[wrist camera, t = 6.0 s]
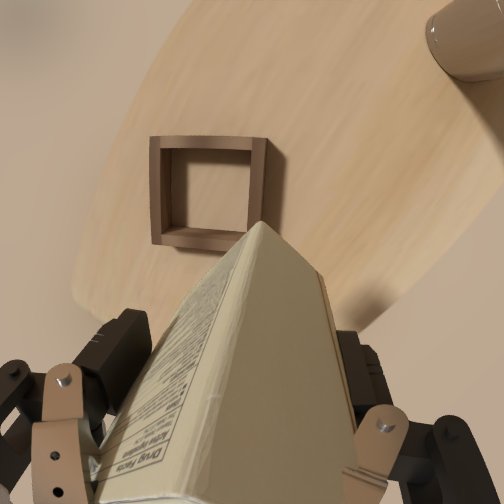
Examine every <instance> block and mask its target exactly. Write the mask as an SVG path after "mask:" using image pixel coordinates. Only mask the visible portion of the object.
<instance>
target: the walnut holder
mask: <svg viewBox="0 0 504 504" xmlns="http://www.w3.org/2000/svg"><path fill="white" fill-rule="evenodd" d="M267 139H268V138H255V137H235V136H152V137H150V145H149V185H150V218H151V237H152V244H154V245H164V246H175V247H185V248H195V249H205V250H216V251H226V252H228V251H229V250H230V249H231V248H232V247H233V246H234V245H235V244H236V243H237V242H238V241H239V240H240V239H241V238H242V237H243V236H244V235H245V234H246V233H247V232H248V231H249V230H250V229H251V228H252V227H253V226H254V225H255V224H256V223H257V222H259V221H262V213H263V199H264V184H265V170H266V155H267ZM171 148H215V149H240V150H252V152H251V169H250V187H249V204H248V222H247V232H236V231H224V230H212V229H200V228H188V227H175V226H171Z"/></svg>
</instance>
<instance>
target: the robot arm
mask: <svg viewBox="0 0 504 504" xmlns="http://www.w3.org/2000/svg"><path fill="white" fill-rule="evenodd" d="M426 39H427V43H428V46H429V49H430V50H431V52H432V54H433V56H434V58H435V59H436V61H437V62H438V63H439V64H440V66H441V67H442V68H443V69H444V70H445V71H446V72H448V73H449V74H450V75H451V76H453V77H455V78H456V79H458V80H461V81H463V82H477V81H482V80H486V81H490V80H496V79H502V78H504V0H454V1H452V2H451V3H450V4H448V5H447V6H445V7H444V8H443V9H441V10H440V11H438V12H437V13H436V14H434V15H433V16H432V17H430V19H429V20H428V22H427V25H426ZM336 333H337V338H338V342H339V346H340V351H341V355H342V360H343V364H344V369H345V374H346V378H347V383H348V388H349V393H350V398H351V403H352V407H353V409H354V414H355V420H356V426H357V431H356V433H355V435H354V442H355V447H356V453H357V459H358V465H359V467H358V470H355V469H352V468H350V467H344V468H343V470H342V484H343V493H344V503H345V504H379V503H380V501H381V499H382V497H383V495H384V493H385V491H386V489H387V486H388V482H387V480H393V481H398V482H399V486H400V490H401V495H402V499H403V504H501V503H500V500H499V498H498V495H497V492H496V489H495V487H494V484H493V482H492V479H491V476H490V474H489V471H488V469H487V467H486V464H485V462H484V459H483V457H482V455H481V452H480V450H479V448H478V446H477V444H476V441H475V439H474V437H473V435H472V433H471V430H470V428H469V426H468V425H467V423H466V422H465V421H464V420H463V419H461V418H459V417H457V416H454V415H445V416H442V417H440V418H439V419H437V421H436V422H435V423H434V425H430V424H423V423H416V422H412V421H409V420H408V418H407V416H406V414H405V413H404V412H403V411H402V410H401V409H399V408H397V407H395V406H394V405H393V402H392V398H391V395H390V392H389V389H388V386H387V383H386V379H385V376H384V375H383V370H382V367H381V366H380V361H379V359H378V356H377V353H376V352H375V351H374V350H373V349H372V348H371V347H370V346H369V345H360V342H359V338H358V335H357V332H356V331H340V330H336ZM151 352H152V340H151V335H150V329H149V323H148V317H147V314H146V312H145V311H141V310H135V309H129V308H127V309H125V310H124V311H123V312H122V314H121V315H120V316H119V317H118V318H117V319H112V320H111V321H109V322H107V323H106V324H104V325H103V326H102V327H101V328H100V329H99V331H98V332H97V334H96V335H94V337H93V338H92V339H91V341H89V343H88V344H87V345H86V346H85V347H84V349H83V350H82V351H81V352H80V354H79V355H78V356H77V357H76V358H75V360H74V361H73V362H72V363H71V364H70V363H63V364H59V365H57V366H54V367H53V368H51V369H50V370H49V371H48V373H47V374H46V373H33V372H31V371H30V368H29V366H28V364H26V362H24V361H23V360H12V361H9V362H7V363H6V364H4V365H3V366H2V367H1V368H0V426H1V424H2V423H3V421H4V420H5V419H6V417H7V416H8V415H9V414H10V413H11V412H12V410H13V409H14V408H15V407H16V408H17V409H18V411H19V413H20V415H19V417H18V418H17V419H16V420H15V422H14V423H13V424H12V425H11V427H10V428H9V429H8V430H7V432H6V433H5V434H4V436H2V435H1V433H0V504H13V503H12V502H11V501H10V496H9V495H10V493H11V491H12V490H13V488H14V487H15V485H16V483H17V482H18V480H19V479H20V477H21V476H22V474H23V473H24V471H25V470H26V468H27V467H28V465H29V464H30V462H31V465H32V487H33V488H32V489H33V501H34V504H95V503H94V499H95V497H94V495H95V492H96V490H97V487H98V483H99V481H98V480H94V481H91V476H90V474H91V473H92V472H93V471H94V470H95V469H96V468H97V467H98V466H99V464H100V458H101V453H102V452H101V451H100V449H99V448H100V446H101V444H102V442H103V440H104V437H105V435H106V427H105V423H104V420H103V418H104V417H105V415H106V413H107V414H110V415H113V416H116V415H117V413H118V412H119V410H120V408H121V406H122V404H123V403H124V401H125V399H126V397H127V396H128V394H129V392H130V390H131V388H132V387H133V385H134V383H135V381H136V380H137V378H138V376H139V375H140V373H141V371H142V369H143V368H144V366H145V364H146V362H147V360H148V359H149V357H150V355H151Z"/></svg>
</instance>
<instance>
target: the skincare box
mask: <svg viewBox="0 0 504 504" xmlns="http://www.w3.org/2000/svg"><path fill="white" fill-rule="evenodd" d="M356 431H357V426H356V420H355V414H354V409H353V407H352V403H351V398H350V393H349V388H348V383H347V378H346V374H345V369H344V364H343V360H342V355H341V351H340V346H339V342H338V338H337V333H336V327H335V323H334V319H333V315H332V311H331V307H330V302H329V299H328V295H327V291H326V287H325V283H324V279H323V277H322V276H321V275H320V274H319V273H318V272H317V271H316V270H315V269H314V268H313V267H312V266H311V265H310V264H309V263H308V262H307V261H306V260H305V259H304V258H303V257H302V256H301V255H300V254H299V253H298V252H297V251H296V250H295V249H294V248H292V247H291V246H290V245H289V244H288V243H287V242H286V241H285V240H284V239H283V238H282V237H281V236H280V235H278V234H277V233H276V232H275V231H274V230H273V229H272V228H271V227H270V226H268V225H267V224H266V223H265V222H263V221H259V222H257V223H256V224H255V225H254V226H253V227H252V228H251V229H250V230H249V231H248V232H247V233H246V234H245V235H244V236H243V237H242V238H241V239H240V240H239V241H238V242H237V243H236V244H235V245H234V246H233V247H232V248H231V249H230V250H229V251H228V252H227V253H226V254H225V255H224V256H223V257H222V258H221V259H220V260H219V261H218V262H217V263H216V265H215V266H214V267H213V268H212V269H211V270H210V271H209V272H208V273H207V274H206V275H205V276H204V277H203V278H202V279H201V281H200V282H199V283H198V284H197V285H196V286H195V287H194V288H193V289H192V291H191V292H190V293H189V294H188V295H187V296H186V297H185V298H184V300H183V302H182V303H181V305H180V307H179V308H178V310H177V312H176V313H175V315H174V317H173V318H172V320H171V322H170V323H169V325H168V327H167V328H166V330H165V332H164V333H163V335H162V337H161V338H160V340H159V342H158V343H157V345H156V347H155V348H154V350H153V352H152V354H151V355H150V357H149V359H148V360H147V362H146V364H145V366H144V368H143V369H142V371H141V373H140V375H139V376H138V378H137V380H136V381H135V383H134V385H133V387H132V388H131V390H130V392H129V394H128V396H127V397H126V399H125V401H124V403H123V404H122V406H121V408H120V410H119V412H118V413H117V415H116V417H115V419H114V421H113V423H112V424H111V426H110V428H109V430H108V432H107V433H106V435H105V437H104V440H103V442H102V444H101V446H100V448H99V449H100V451H101V452H102V453H101V458H100V464H99V466H98V467H97V468H96V469H95V470H94V471H93V472H92V473H91V474H90V476H91V481H94V480H98V481H99V483H98V487H97V490H96V492H95V495H94V497H95V499H94V503H95V504H345V503H344V493H343V484H342V470H343V468H344V467H350V468H352V469H355V470H358V467H359V465H358V459H357V453H356V447H355V442H354V435H355V433H356Z"/></svg>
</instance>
